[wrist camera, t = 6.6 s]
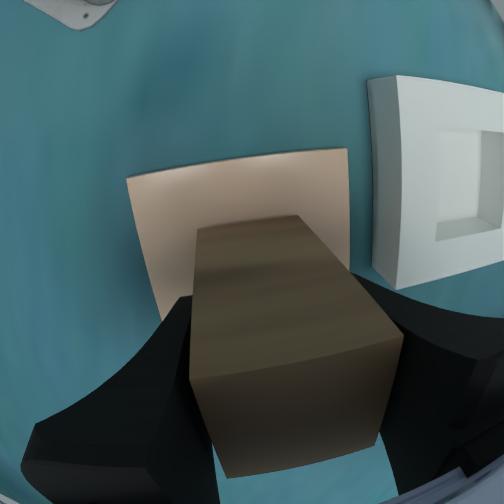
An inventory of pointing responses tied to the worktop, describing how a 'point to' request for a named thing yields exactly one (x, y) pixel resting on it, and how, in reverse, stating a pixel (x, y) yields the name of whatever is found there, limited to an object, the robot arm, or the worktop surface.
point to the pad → (235, 207)
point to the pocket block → (435, 178)
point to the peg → (285, 348)
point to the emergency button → (75, 11)
